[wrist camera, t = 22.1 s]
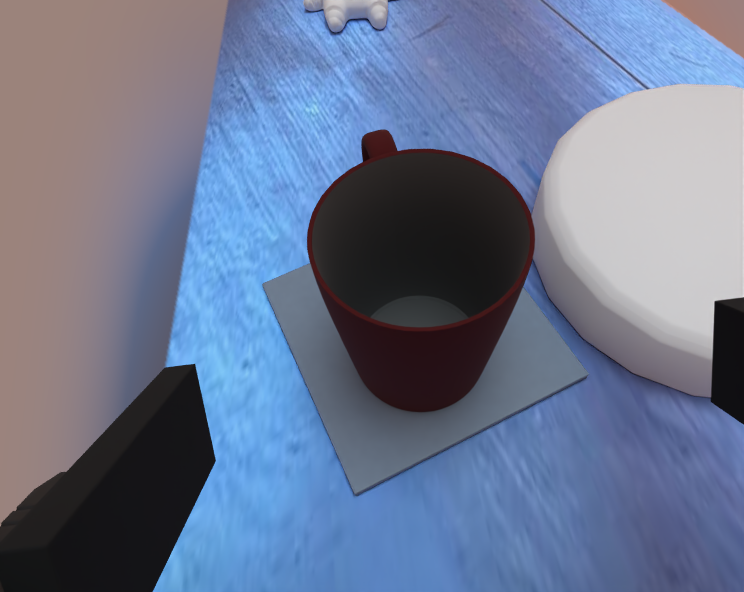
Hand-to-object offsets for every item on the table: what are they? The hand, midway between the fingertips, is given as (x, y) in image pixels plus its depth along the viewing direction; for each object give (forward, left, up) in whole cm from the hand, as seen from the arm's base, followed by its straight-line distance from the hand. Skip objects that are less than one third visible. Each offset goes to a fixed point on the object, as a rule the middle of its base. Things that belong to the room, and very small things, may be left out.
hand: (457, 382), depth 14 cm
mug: (+3, +9, -15) cm, 18 cm away
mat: (+3, +9, -16) cm, 18 cm away
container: (+21, +6, -16) cm, 27 cm away
